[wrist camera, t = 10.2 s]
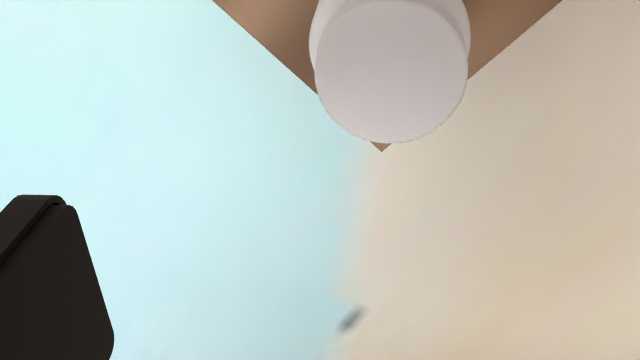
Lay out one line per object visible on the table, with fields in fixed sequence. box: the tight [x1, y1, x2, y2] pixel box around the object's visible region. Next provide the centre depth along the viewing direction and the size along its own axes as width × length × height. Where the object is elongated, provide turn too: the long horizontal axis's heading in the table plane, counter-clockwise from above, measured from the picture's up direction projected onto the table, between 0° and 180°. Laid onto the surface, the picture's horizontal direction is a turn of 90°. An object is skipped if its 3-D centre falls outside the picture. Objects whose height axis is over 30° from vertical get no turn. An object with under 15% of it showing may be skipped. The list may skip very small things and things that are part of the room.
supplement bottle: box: [309, 0, 471, 144], centre depth 19 cm, size 5×5×8 cm
